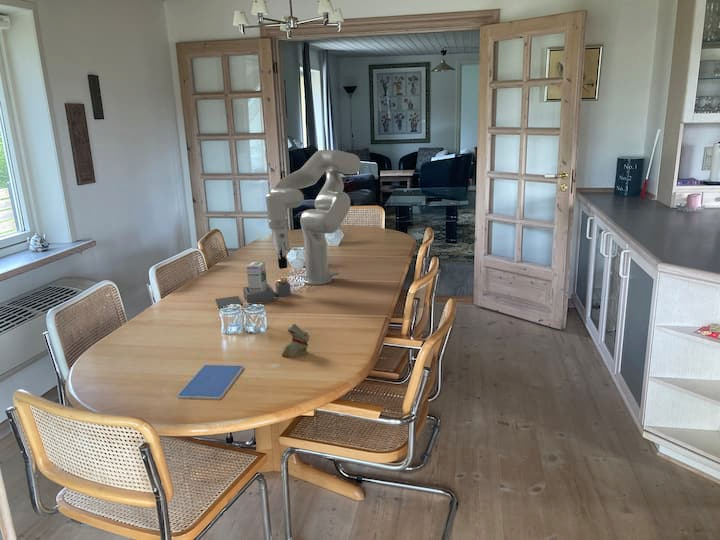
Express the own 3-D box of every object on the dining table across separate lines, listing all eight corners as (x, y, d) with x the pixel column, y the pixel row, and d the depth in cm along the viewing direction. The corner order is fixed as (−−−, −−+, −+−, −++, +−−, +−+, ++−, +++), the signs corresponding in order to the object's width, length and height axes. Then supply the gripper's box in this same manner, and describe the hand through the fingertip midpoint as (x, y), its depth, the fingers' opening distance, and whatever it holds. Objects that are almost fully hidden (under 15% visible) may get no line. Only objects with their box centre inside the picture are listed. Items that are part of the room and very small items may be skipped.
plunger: (287, 291, 235) (286, 277, 233) (289, 294, 231) (288, 280, 229) (277, 292, 233) (276, 278, 232) (279, 295, 230) (278, 281, 228)
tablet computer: (221, 401, 149) (220, 397, 148) (175, 400, 150) (174, 395, 150) (245, 369, 167) (244, 365, 167) (204, 368, 169) (203, 364, 168)
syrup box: (263, 301, 226) (260, 265, 222) (249, 300, 227) (245, 265, 223) (268, 296, 231) (265, 261, 227) (254, 296, 233) (251, 261, 229)
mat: (238, 297, 232) (238, 295, 232) (242, 305, 222) (242, 303, 222) (215, 300, 229) (215, 298, 229) (218, 308, 219) (218, 307, 219)
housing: (286, 290, 238) (285, 279, 237) (292, 297, 228) (291, 286, 227) (243, 296, 232) (242, 284, 231) (247, 304, 223) (246, 292, 221)
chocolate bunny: (306, 358, 172) (303, 327, 169) (280, 357, 173) (278, 326, 170) (310, 350, 177) (308, 320, 174) (286, 350, 178) (284, 319, 176)
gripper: (291, 226, 219) (296, 271, 225) (283, 218, 233) (288, 261, 238) (272, 228, 217) (277, 274, 222) (265, 221, 230) (270, 264, 236)
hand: (283, 267), depth 230 cm, fingers closed
